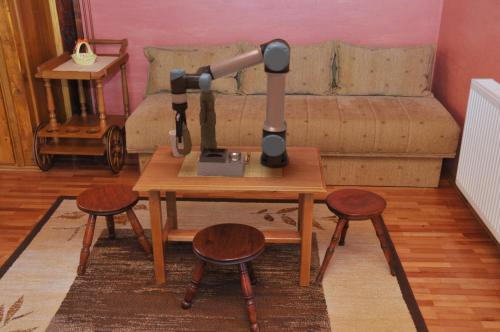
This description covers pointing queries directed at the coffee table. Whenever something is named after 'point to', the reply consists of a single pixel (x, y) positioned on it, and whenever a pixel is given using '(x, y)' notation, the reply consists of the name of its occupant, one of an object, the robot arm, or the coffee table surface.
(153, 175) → the coffee table surface
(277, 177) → the coffee table surface
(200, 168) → the grey box with recess
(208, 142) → the dark brown statue
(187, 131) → the squeeze bottle
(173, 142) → the foam cup
